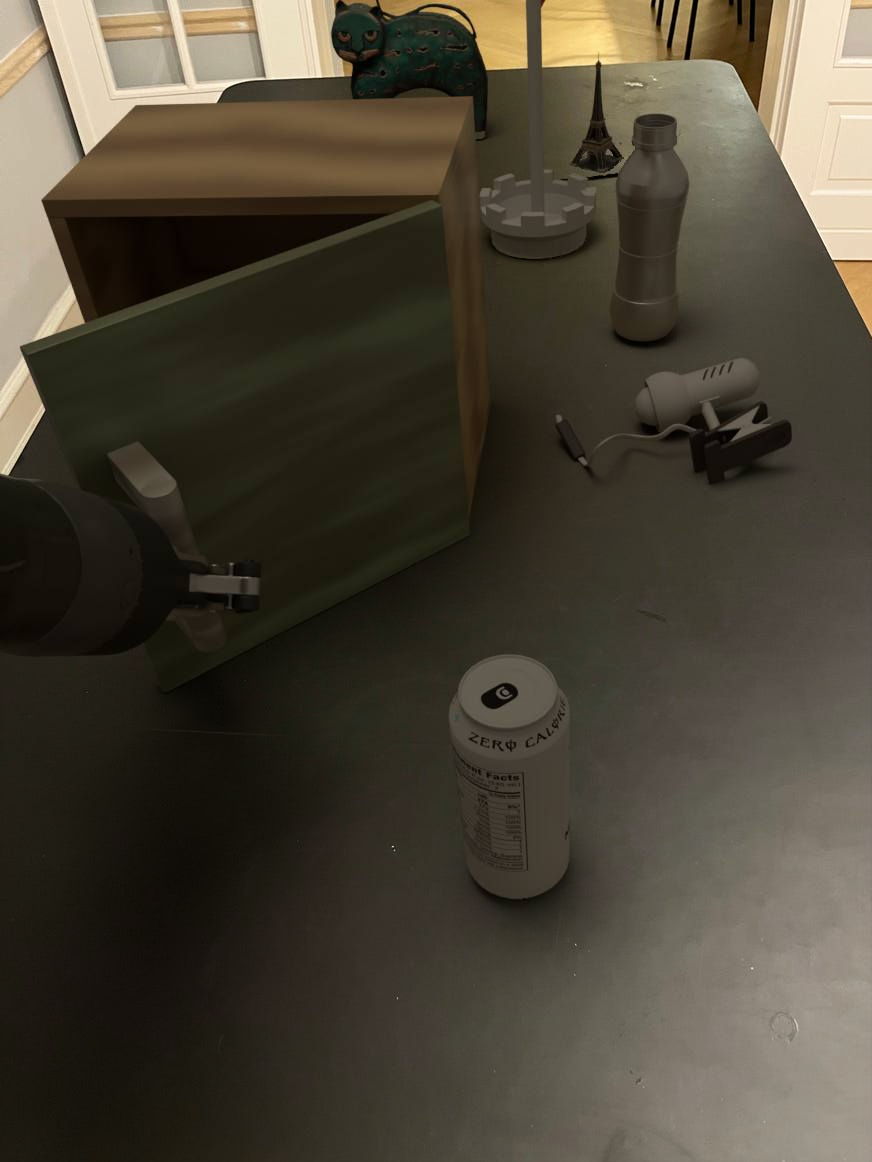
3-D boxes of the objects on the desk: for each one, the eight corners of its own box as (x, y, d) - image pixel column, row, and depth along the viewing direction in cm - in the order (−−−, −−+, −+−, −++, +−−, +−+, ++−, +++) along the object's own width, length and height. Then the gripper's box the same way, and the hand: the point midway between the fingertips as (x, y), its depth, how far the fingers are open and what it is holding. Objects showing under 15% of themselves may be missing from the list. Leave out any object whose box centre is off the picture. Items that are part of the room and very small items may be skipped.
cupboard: (467, 526, 83) (438, 194, 65) (153, 518, 87) (40, 199, 68) (491, 403, 96) (472, 96, 77) (216, 400, 99) (135, 104, 81)
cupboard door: (517, 573, 79) (502, 235, 60) (202, 745, 68) (68, 401, 50) (461, 528, 83) (431, 199, 65) (157, 684, 73) (18, 345, 54)
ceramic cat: (346, 153, 143) (322, -15, 129) (350, 136, 148) (327, -28, 133) (491, 143, 142) (482, -26, 128) (490, 127, 147) (482, -39, 133)
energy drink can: (591, 870, 60) (595, 697, 50) (507, 927, 58) (493, 758, 47) (528, 803, 64) (520, 628, 53) (447, 854, 62) (421, 682, 51)
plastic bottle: (622, 313, 107) (630, 104, 92) (685, 324, 104) (704, 111, 90) (599, 343, 103) (604, 129, 88) (664, 355, 100) (680, 138, 86)
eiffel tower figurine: (642, 144, 139) (648, 32, 130) (664, 172, 132) (671, 55, 122) (532, 157, 138) (530, 45, 129) (548, 186, 131) (546, 70, 121)
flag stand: (563, 272, 114) (562, -50, 93) (461, 252, 119) (438, -58, 98) (613, 225, 122) (623, -82, 100) (515, 208, 127) (505, -88, 105)
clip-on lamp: (584, 527, 87) (797, 464, 85) (569, 473, 82) (794, 405, 80) (558, 438, 94) (753, 378, 92) (543, 383, 90) (748, 319, 87)
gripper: (214, 490, 45) (320, 532, 62) (-86, 482, 47) (98, 525, 64) (207, 663, 45) (315, 658, 62) (-93, 649, 47) (93, 647, 64)
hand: (204, 590), depth 63 cm, fingers open, 3 cm apart
